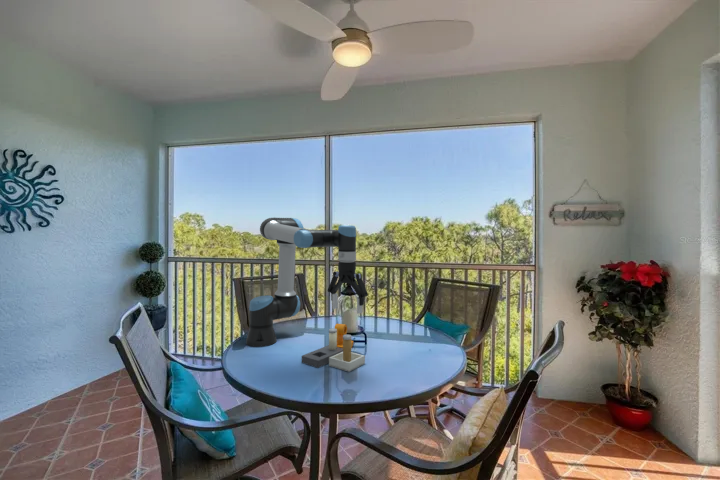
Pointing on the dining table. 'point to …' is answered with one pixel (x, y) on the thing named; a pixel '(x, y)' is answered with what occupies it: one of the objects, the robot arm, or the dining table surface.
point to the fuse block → (323, 352)
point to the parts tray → (338, 361)
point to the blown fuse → (347, 348)
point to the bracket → (341, 334)
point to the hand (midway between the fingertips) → (346, 310)
